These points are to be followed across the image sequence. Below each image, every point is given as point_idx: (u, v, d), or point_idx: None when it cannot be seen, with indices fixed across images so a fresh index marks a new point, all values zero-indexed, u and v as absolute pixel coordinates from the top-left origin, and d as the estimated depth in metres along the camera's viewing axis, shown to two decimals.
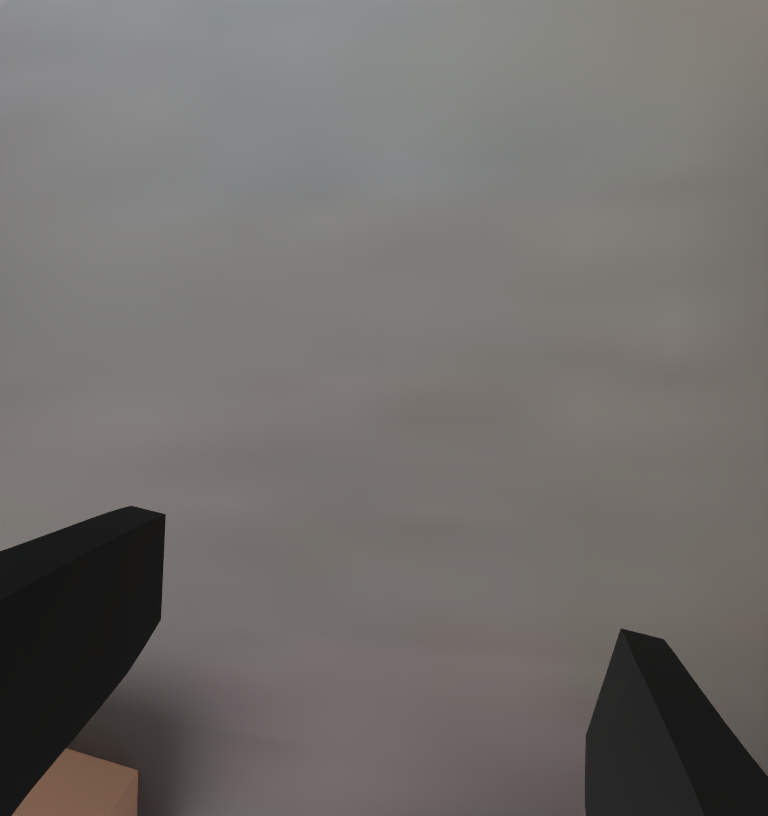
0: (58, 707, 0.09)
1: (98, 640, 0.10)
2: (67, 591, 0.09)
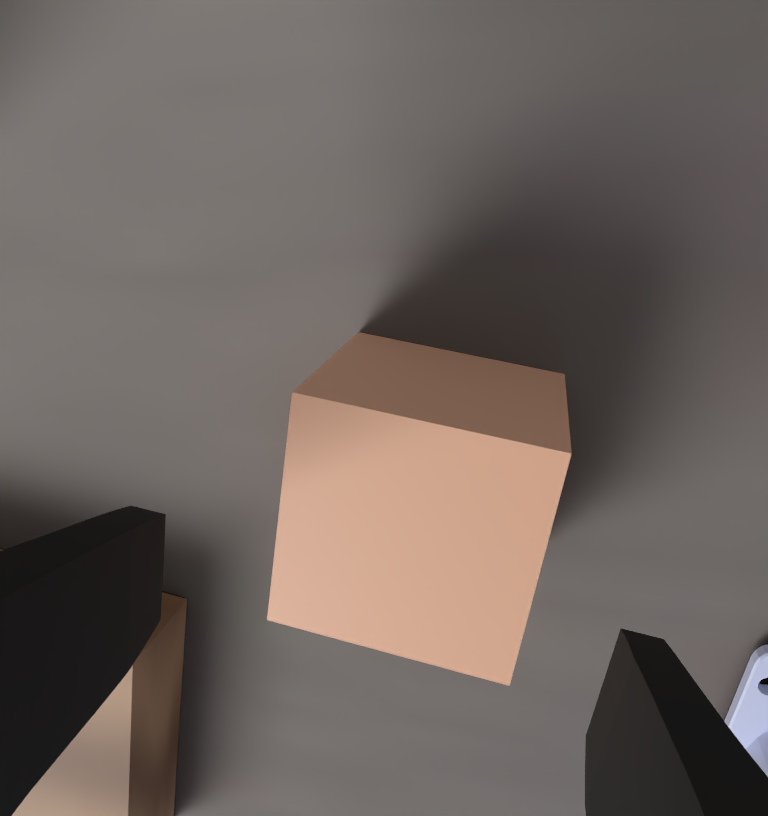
0: (58, 707, 0.09)
1: (98, 640, 0.10)
2: (67, 591, 0.09)
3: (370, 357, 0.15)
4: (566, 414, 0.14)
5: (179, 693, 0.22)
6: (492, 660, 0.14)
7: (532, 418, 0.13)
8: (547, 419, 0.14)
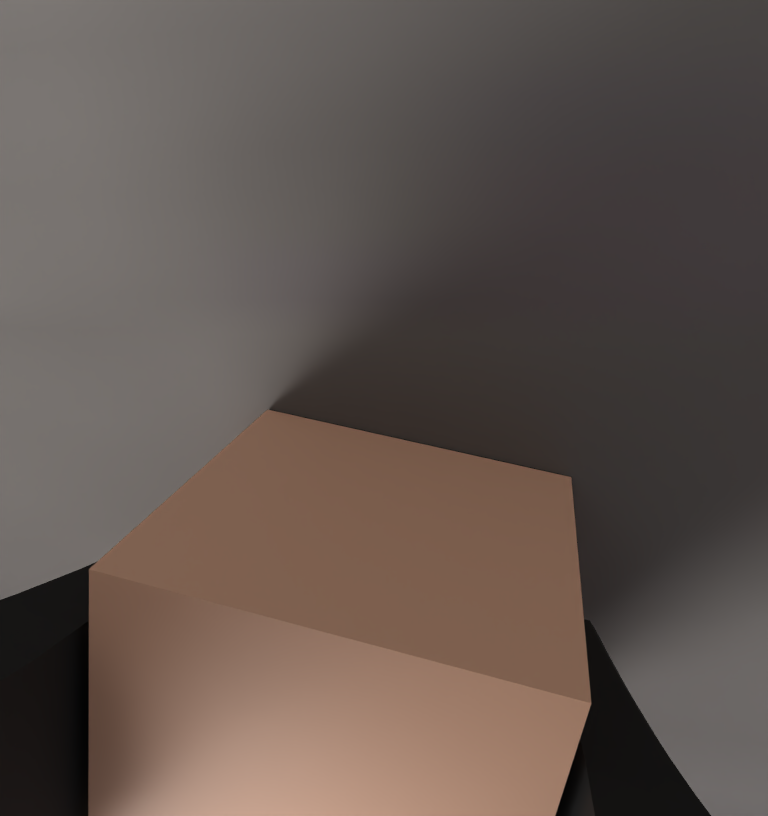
0: None
1: None
2: None
3: (266, 465, 0.10)
4: (577, 580, 0.08)
5: None
6: None
7: (520, 598, 0.08)
8: (546, 597, 0.08)
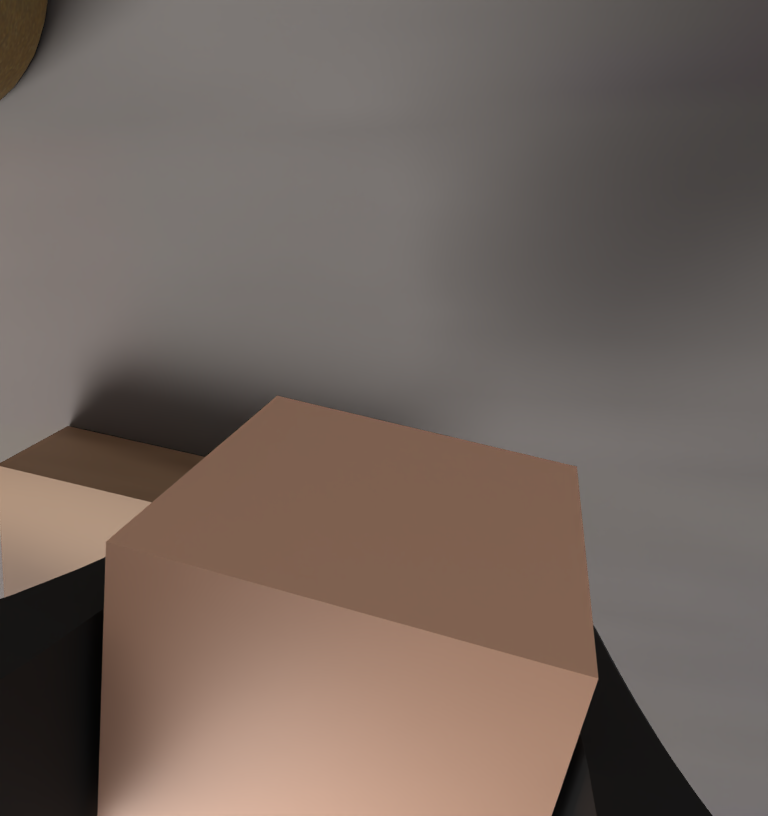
0: None
1: None
2: None
3: (277, 449, 0.10)
4: (584, 564, 0.08)
5: None
6: None
7: (528, 579, 0.08)
8: (553, 579, 0.08)
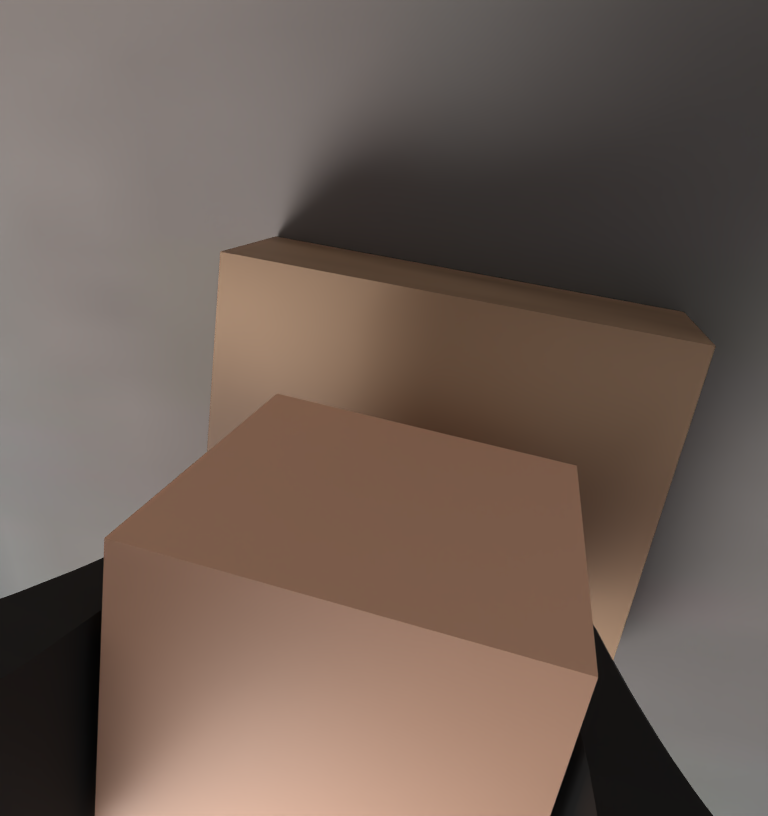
0: None
1: None
2: None
3: (277, 447, 0.10)
4: (583, 563, 0.08)
5: None
6: None
7: (529, 577, 0.08)
8: (552, 578, 0.08)
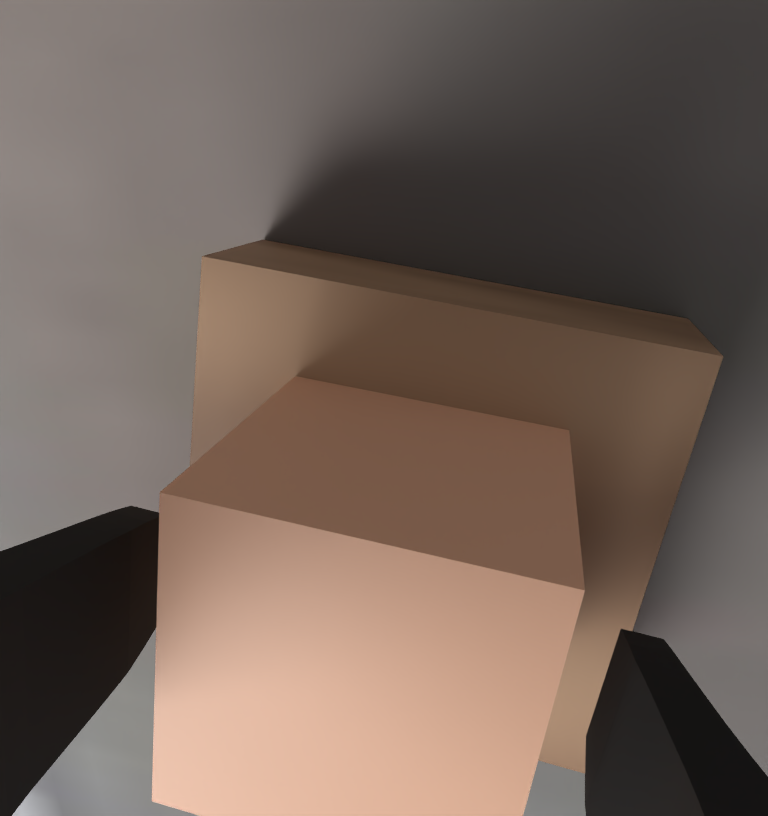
0: (58, 707, 0.09)
1: (98, 640, 0.10)
2: (67, 591, 0.09)
3: (299, 419, 0.11)
4: (574, 506, 0.10)
5: None
6: None
7: (525, 518, 0.09)
8: (546, 518, 0.09)
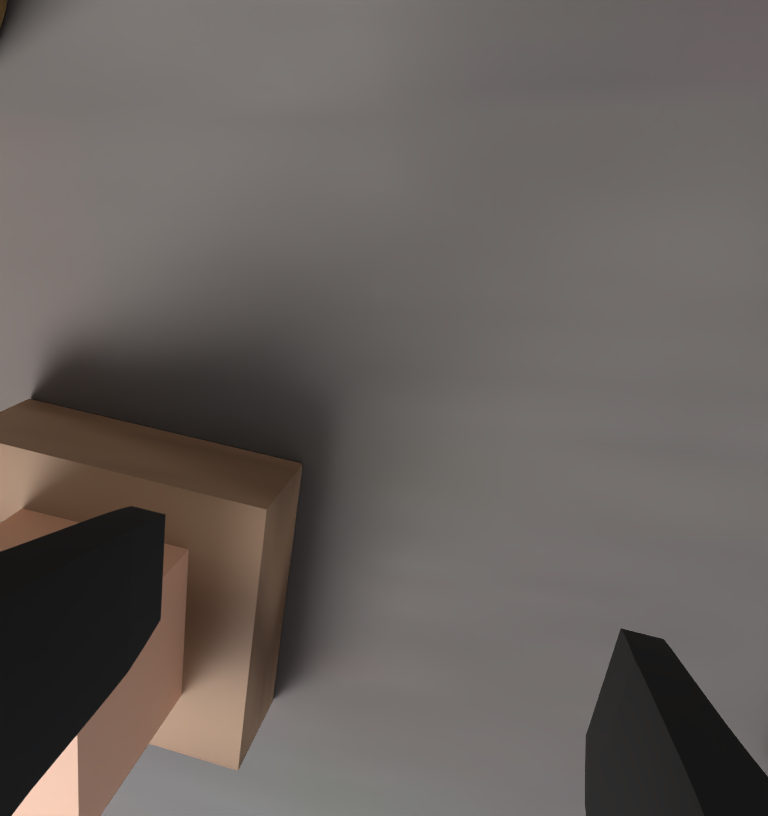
0: (58, 707, 0.09)
1: (98, 640, 0.10)
2: (67, 591, 0.09)
3: None
4: None
5: (289, 564, 0.22)
6: None
7: None
8: None
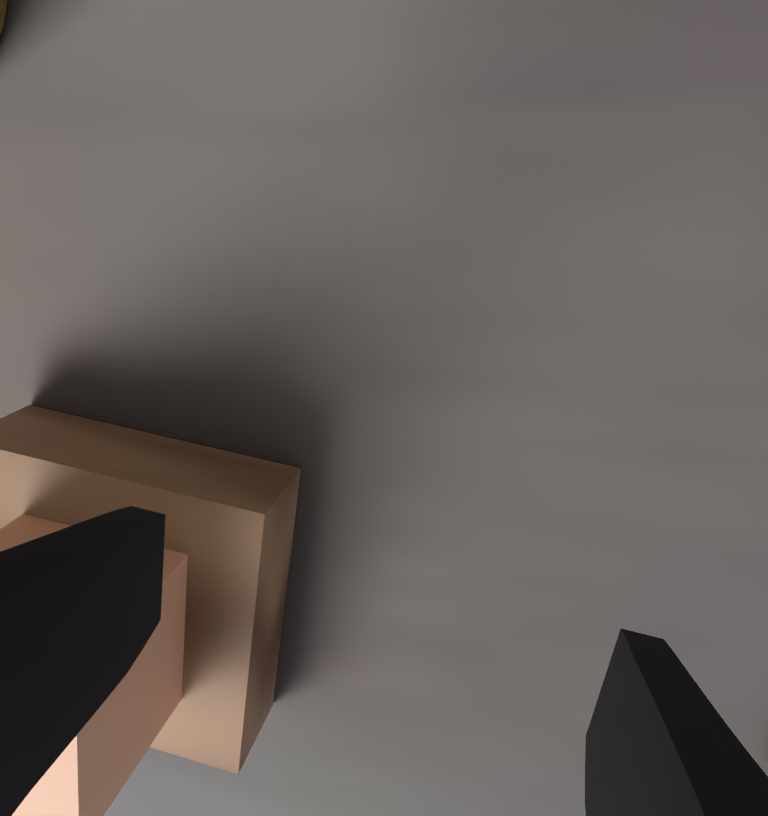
0: (58, 707, 0.09)
1: (98, 640, 0.10)
2: (67, 591, 0.09)
3: None
4: None
5: (288, 568, 0.22)
6: None
7: None
8: None
